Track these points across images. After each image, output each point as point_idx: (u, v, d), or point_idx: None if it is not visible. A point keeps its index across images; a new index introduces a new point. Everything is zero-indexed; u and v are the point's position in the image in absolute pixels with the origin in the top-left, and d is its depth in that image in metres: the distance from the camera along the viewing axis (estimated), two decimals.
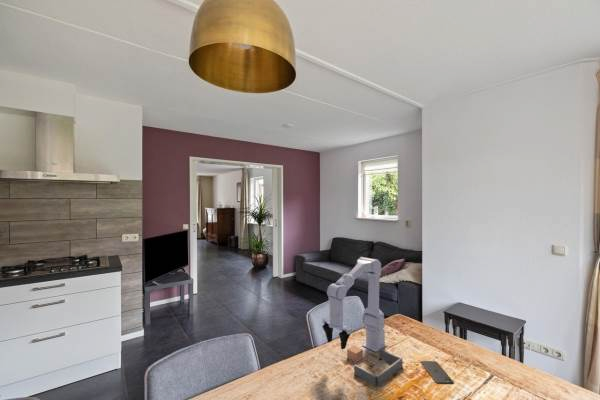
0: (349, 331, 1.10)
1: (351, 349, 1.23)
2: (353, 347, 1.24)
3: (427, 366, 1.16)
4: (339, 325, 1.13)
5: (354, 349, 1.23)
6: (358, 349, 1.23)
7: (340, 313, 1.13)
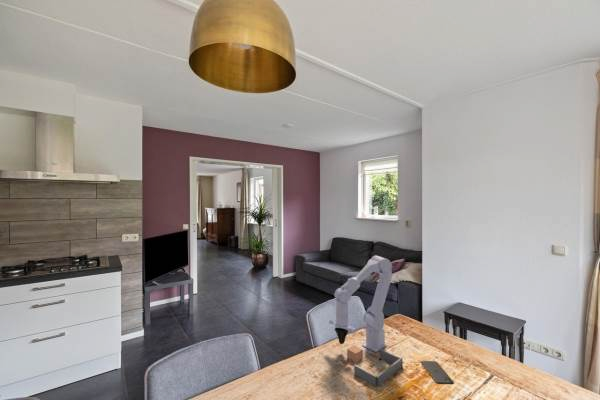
0: (353, 331, 1.23)
1: (351, 349, 1.23)
2: (353, 347, 1.24)
3: (427, 366, 1.16)
4: (344, 325, 1.26)
5: (354, 349, 1.23)
6: (358, 349, 1.23)
7: (343, 315, 1.26)
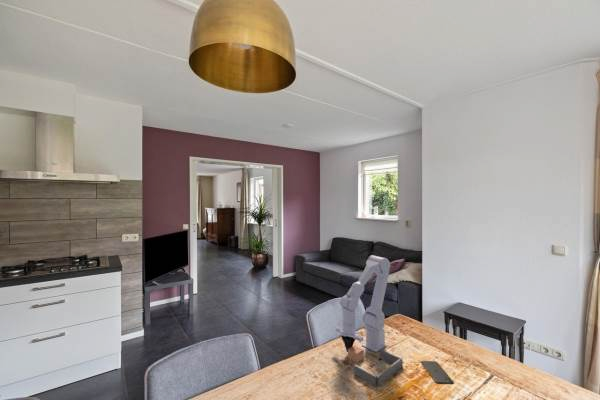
0: (361, 339, 1.20)
1: (352, 349, 1.23)
2: (354, 347, 1.24)
3: (427, 366, 1.16)
4: (351, 334, 1.23)
5: (355, 349, 1.22)
6: (359, 349, 1.23)
7: (351, 323, 1.23)
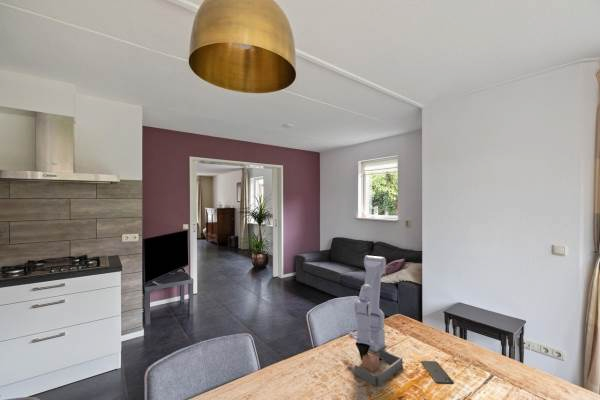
0: (377, 346, 1.14)
1: (367, 357, 1.17)
2: (369, 355, 1.18)
3: (427, 366, 1.16)
4: (366, 340, 1.17)
5: (370, 357, 1.16)
6: (374, 357, 1.17)
7: (368, 328, 1.18)
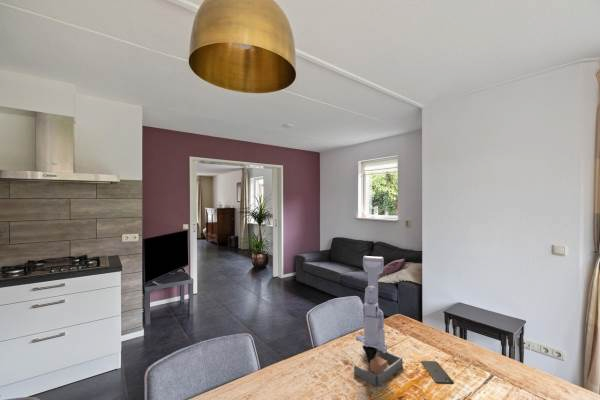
0: (385, 350, 1.11)
1: (375, 360, 1.14)
2: (377, 358, 1.15)
3: (427, 366, 1.16)
4: (374, 344, 1.14)
5: (378, 361, 1.13)
6: (382, 360, 1.14)
7: (377, 331, 1.16)
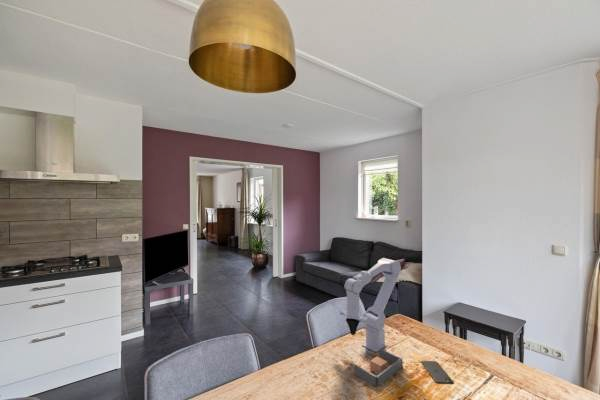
0: (366, 321, 1.22)
1: (375, 361, 1.14)
2: (377, 359, 1.15)
3: (427, 366, 1.16)
4: (356, 316, 1.24)
5: (378, 361, 1.13)
6: (382, 361, 1.14)
7: (356, 305, 1.24)
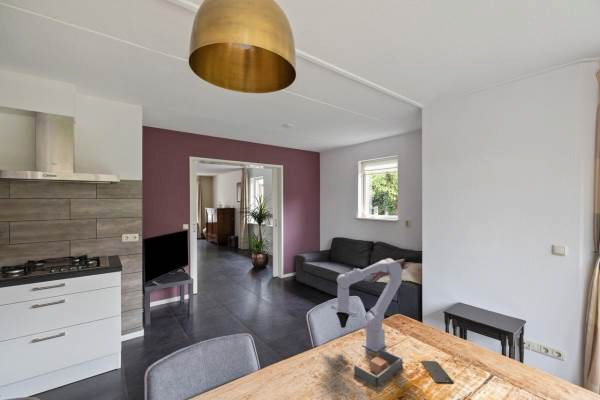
0: (354, 314, 1.28)
1: (375, 361, 1.14)
2: (377, 359, 1.15)
3: (427, 366, 1.16)
4: (346, 309, 1.31)
5: (378, 361, 1.13)
6: (382, 361, 1.14)
7: (343, 299, 1.31)
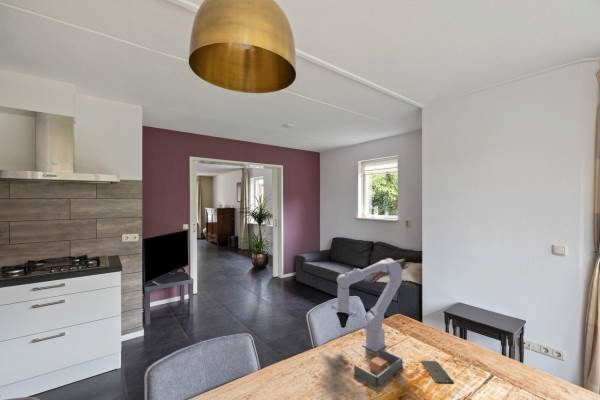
0: (354, 314, 1.28)
1: (375, 361, 1.14)
2: (377, 359, 1.15)
3: (427, 366, 1.16)
4: (346, 309, 1.31)
5: (378, 361, 1.13)
6: (382, 361, 1.14)
7: (343, 299, 1.31)
